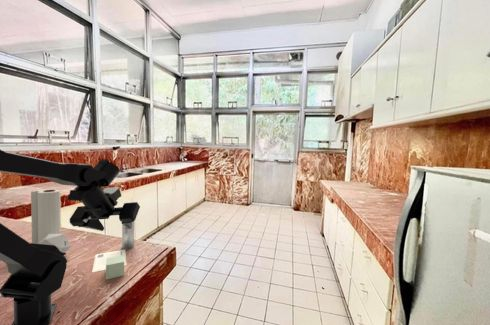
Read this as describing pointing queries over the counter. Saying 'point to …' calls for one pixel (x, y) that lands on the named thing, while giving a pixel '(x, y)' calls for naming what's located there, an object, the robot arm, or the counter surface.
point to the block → (115, 267)
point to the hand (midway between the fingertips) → (117, 228)
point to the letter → (101, 259)
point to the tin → (127, 237)
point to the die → (57, 241)
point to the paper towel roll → (45, 214)
